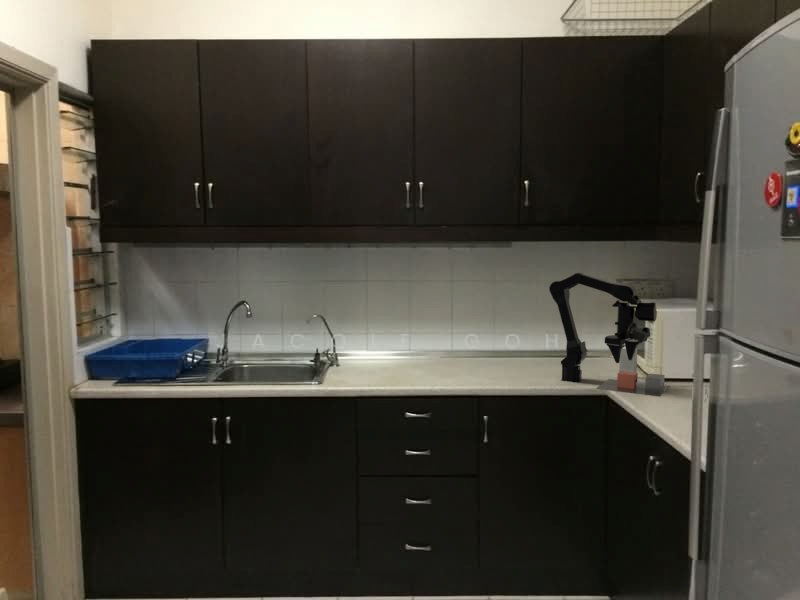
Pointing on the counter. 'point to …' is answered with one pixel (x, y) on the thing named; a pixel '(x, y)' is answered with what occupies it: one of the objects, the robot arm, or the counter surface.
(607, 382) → the coupler
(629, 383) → the block
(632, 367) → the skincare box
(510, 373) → the counter surface
